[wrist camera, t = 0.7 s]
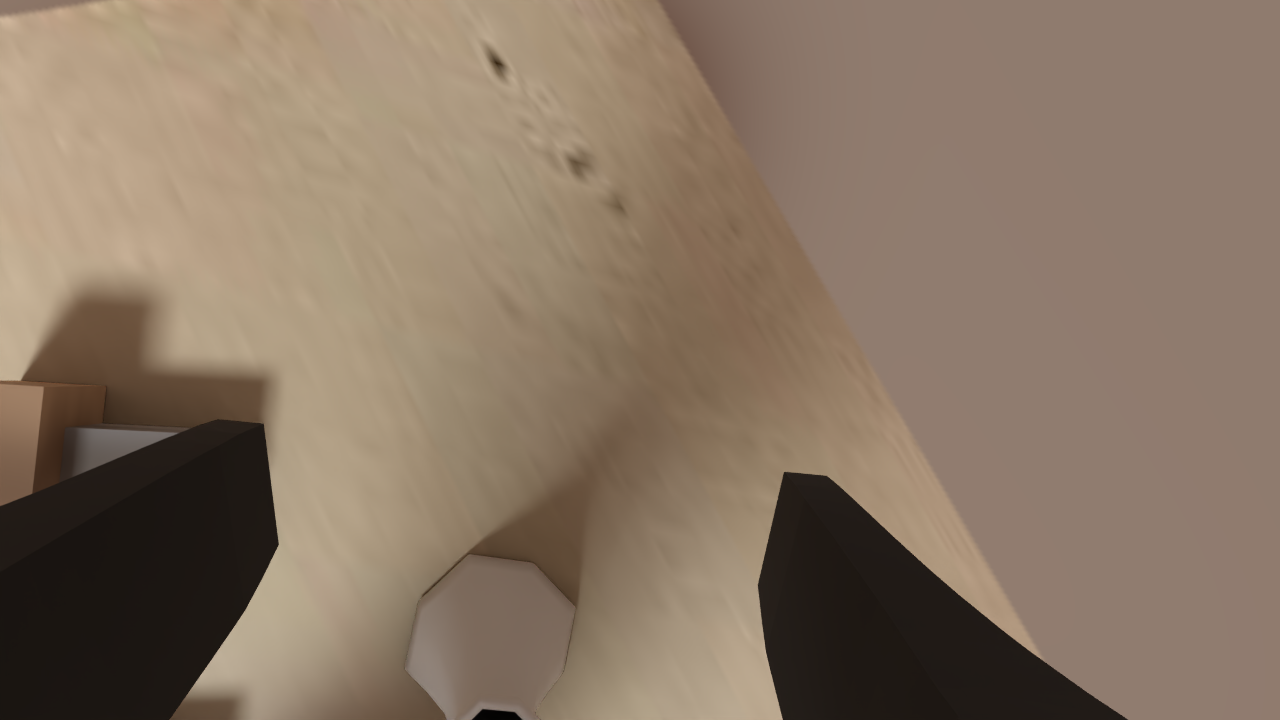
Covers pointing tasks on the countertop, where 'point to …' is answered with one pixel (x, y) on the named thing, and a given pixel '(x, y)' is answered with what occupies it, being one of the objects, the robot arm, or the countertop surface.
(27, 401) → the spice rail
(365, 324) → the countertop surface
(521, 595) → the flask
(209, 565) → the robot arm
